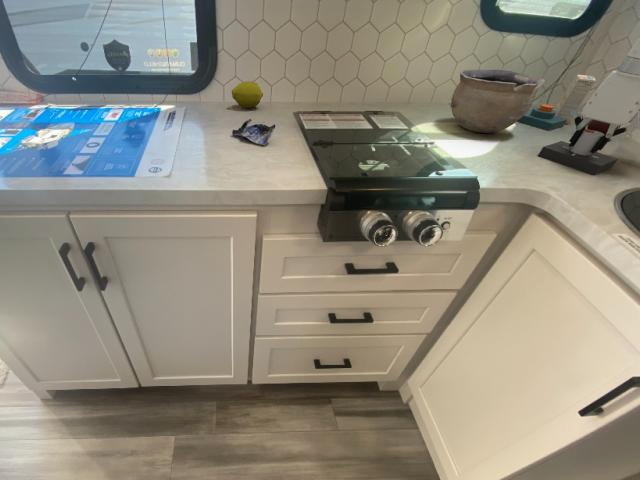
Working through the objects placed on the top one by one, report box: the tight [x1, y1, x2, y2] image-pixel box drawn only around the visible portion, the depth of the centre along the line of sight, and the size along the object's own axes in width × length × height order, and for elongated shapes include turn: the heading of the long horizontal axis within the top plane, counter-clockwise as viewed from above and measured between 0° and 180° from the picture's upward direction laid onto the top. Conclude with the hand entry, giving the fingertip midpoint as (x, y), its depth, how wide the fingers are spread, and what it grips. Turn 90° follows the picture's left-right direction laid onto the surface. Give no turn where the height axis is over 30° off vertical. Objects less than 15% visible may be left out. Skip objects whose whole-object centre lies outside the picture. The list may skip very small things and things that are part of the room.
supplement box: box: [554, 74, 597, 125], centre depth 116 cm, size 8×5×13 cm, turn 147°
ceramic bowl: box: [450, 69, 546, 134], centre depth 106 cm, size 22×22×15 cm
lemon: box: [231, 80, 264, 109], centre depth 117 cm, size 11×8×8 cm
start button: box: [538, 103, 554, 112], centre depth 115 cm, size 4×4×2 cm
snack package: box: [231, 118, 276, 147], centre depth 98 cm, size 12×6×12 cm
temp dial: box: [571, 128, 604, 155], centre depth 90 cm, size 4×4×5 cm
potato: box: [586, 120, 622, 135], centre depth 107 cm, size 7×8×7 cm
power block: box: [517, 106, 568, 131], centre depth 117 cm, size 12×10×4 cm
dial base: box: [537, 140, 619, 176], centre depth 93 cm, size 14×10×3 cm
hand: (583, 148), depth 92 cm, fingers closed on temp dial, 4 cm apart
